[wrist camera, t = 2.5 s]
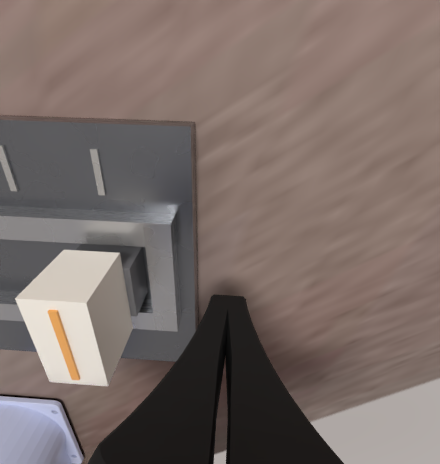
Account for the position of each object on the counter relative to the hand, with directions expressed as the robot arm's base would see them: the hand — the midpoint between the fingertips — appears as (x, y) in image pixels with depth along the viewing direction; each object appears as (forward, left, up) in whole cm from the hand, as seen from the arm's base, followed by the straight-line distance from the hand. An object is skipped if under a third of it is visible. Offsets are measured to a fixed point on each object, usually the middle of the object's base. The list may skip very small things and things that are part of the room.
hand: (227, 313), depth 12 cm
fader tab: (0, +6, -3) cm, 6 cm away
